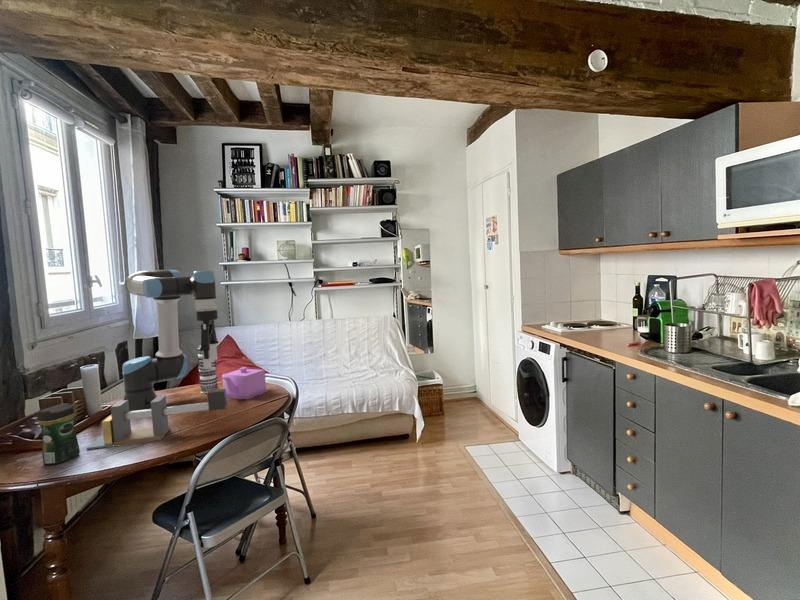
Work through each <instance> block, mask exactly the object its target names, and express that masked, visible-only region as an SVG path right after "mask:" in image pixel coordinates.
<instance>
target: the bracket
mask: <svg viewBox="0 0 800 600" xmlns="http://www.w3.org/2000/svg"><path fill="white" fill-rule="evenodd" d="M166 397H167V396H166V395H160V396H157V397H156V398H155V399H154V400H153V401H151V413H152V417H151V421H152V427H146V428H137V429H132V425H131V423H132V422H131V419H129V420H124V412H129V403H128V400H123V399H122V400H118V401H117V402H116V403H114V404H112V406H111V407H110V412H111V414H110V415H112V425H113V435H114V442H113V443H114V446H113V447H119V446H118V445H121V446H126V444H128V445H133V443H135V444H141V443H140V442H143V443H148V441H150V442H155V441H154V440H157V441H162V440H163V439H162V438H164V437H165V436H166V435H167V434H166V433H168V432H169V431H170V430H171V424H169V418H168V415H163V411H162V408H163V407H168V406H167V398H166ZM169 429H170V430H169ZM165 434H166V435H165ZM161 439H162V440H161ZM115 440H116V441H115Z"/></svg>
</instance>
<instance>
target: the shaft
mask: <svg viewBox="0 0 800 600" xmlns="http://www.w3.org/2000/svg"><path fill="white" fill-rule="evenodd" d="M227 406H228V402H227V398H226V389H223V388H220V389H218V390H210V391H209V392H208V393H207V401H206V402H205V401H204V402H196V403H188V404H181V405H172V406H167V407H163V408H162V411H163V415H167V416H168V415H177V414H183V413H193V412H199V411H200V412H201V411H208V412H211V411H212V412H213V411H219V410H226V408H227ZM144 418H152V413H151V409H145V410H137V411H129V412H124V420H129V419H130V420H135V419H136V420H138V419H144Z"/></svg>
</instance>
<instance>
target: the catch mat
mask: <svg viewBox="0 0 800 600" xmlns="http://www.w3.org/2000/svg"><path fill="white" fill-rule="evenodd" d="M113 445H114V443H112V444H107V445H104V437H103V435H100V436H99V437H98V438H97V439H96V440H94V441H93V442H92V443H90V445H89V446H86V450H87V449H92V450H96V449H95V448H99V449H104V448H103V447H106V448H111V447H110V446H113ZM113 447H114V446H113Z"/></svg>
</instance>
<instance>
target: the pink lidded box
mask: <svg viewBox="0 0 800 600" xmlns="http://www.w3.org/2000/svg"><path fill="white" fill-rule="evenodd" d="M265 370H266V369H255V368H254V369H253V368H248V366H247V367H246V366H243V367H240V368H239V369H237V370H233V371H230V372H228V373H227V372H226V373H223V374H222V375H221V376H222V378H221V379H222V389H226V397H227V398H226V399H231V398H238V399H237V400H242V399H249V400H251V399H254V398H256V397H258V396H257V395H259V396H261V395H263V393H264V394H265V392H266V393H267V385H266V384H267V383H266V371H265ZM260 394H261V395H260ZM255 396H256V397H255ZM253 397H254V398H253ZM250 398H251V399H250Z"/></svg>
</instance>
